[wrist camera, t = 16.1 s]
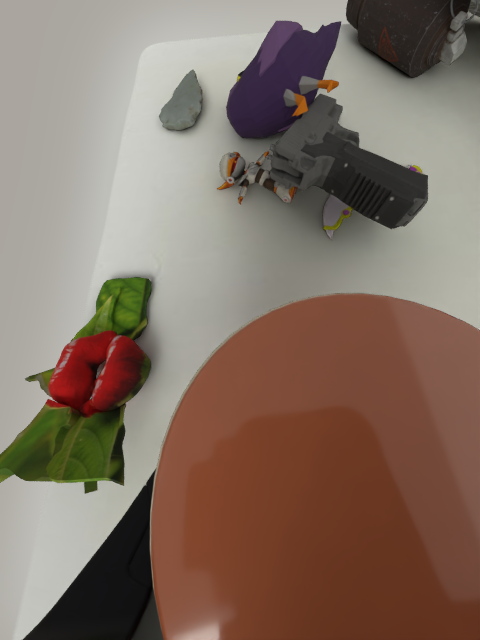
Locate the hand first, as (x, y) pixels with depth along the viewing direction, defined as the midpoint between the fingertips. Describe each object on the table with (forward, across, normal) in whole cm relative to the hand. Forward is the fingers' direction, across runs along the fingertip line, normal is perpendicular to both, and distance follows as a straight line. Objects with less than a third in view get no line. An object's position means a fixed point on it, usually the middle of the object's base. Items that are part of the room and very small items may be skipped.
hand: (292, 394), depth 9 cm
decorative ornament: (+7, +8, +3) cm, 11 cm away
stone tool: (+30, +7, -19) cm, 36 cm away
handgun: (+16, -15, -7) cm, 23 cm away
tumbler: (+4, 0, +5) cm, 6 cm away
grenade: (+34, -17, -28) cm, 47 cm away
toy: (+16, -8, -14) cm, 22 cm away
